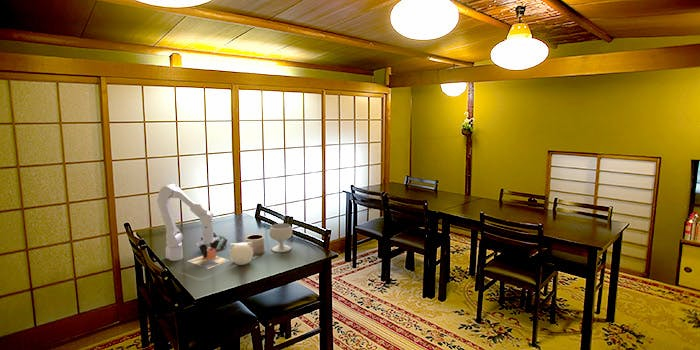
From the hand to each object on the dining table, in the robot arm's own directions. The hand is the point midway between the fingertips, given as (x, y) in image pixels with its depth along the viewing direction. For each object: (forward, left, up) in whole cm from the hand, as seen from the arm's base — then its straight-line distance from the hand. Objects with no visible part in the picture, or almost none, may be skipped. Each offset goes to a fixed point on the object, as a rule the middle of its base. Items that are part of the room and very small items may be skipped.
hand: (209, 255), depth 219 cm
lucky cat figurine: (-10, +11, -2) cm, 15 cm away
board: (+4, -4, -2) cm, 6 cm away
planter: (+14, +22, -2) cm, 26 cm away
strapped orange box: (0, 0, -1) cm, 1 cm away
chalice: (+24, +34, -2) cm, 42 cm away
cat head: (+22, +6, -2) cm, 22 cm away
